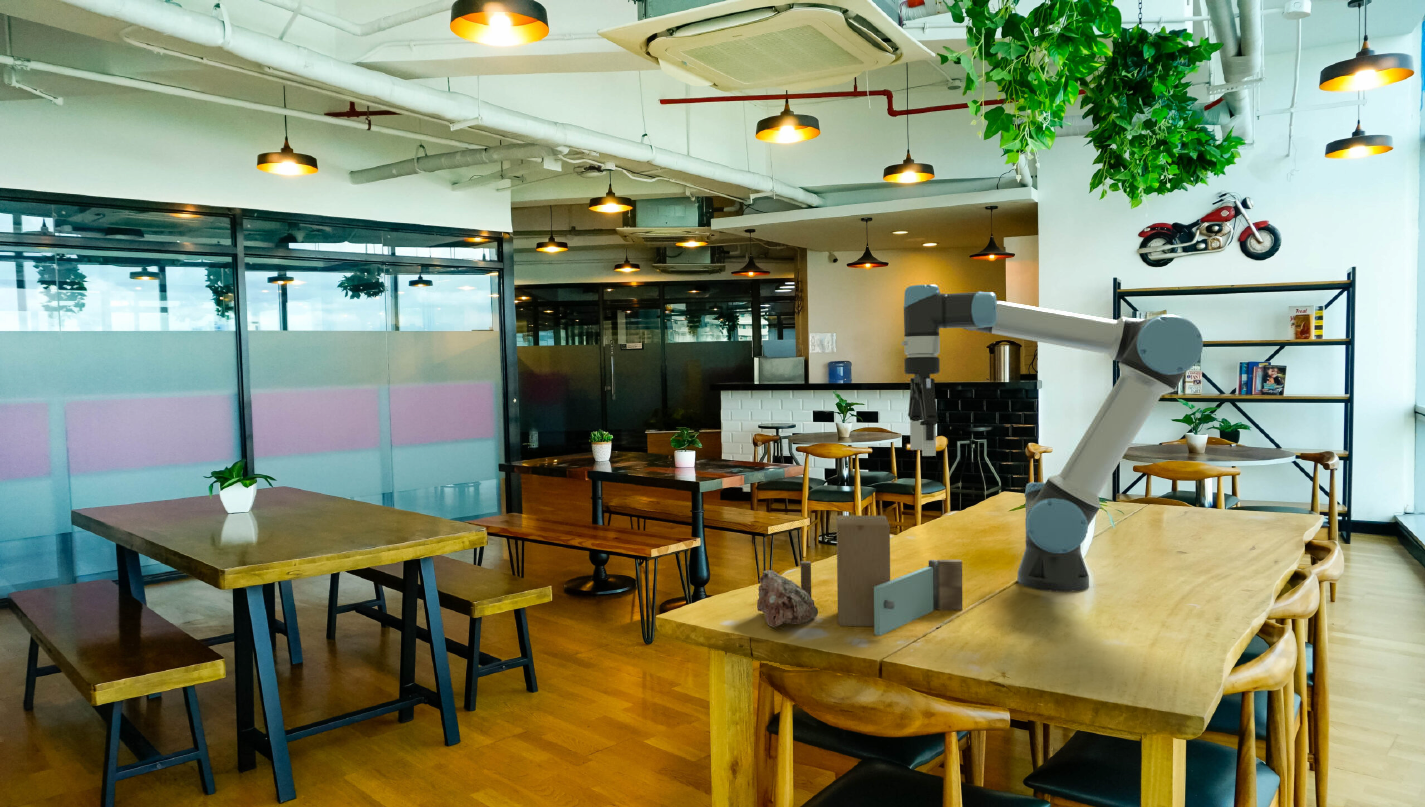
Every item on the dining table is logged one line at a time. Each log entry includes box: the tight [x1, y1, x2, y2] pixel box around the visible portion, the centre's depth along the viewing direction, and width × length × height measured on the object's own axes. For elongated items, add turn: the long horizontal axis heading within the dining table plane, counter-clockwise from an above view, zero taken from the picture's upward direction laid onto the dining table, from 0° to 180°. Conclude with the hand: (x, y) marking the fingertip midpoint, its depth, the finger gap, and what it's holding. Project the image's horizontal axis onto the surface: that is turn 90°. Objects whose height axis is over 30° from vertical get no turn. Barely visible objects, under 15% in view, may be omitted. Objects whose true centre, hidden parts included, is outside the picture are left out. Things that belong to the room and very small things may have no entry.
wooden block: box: [836, 515, 891, 628], centre depth 177 cm, size 10×10×20 cm
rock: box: [756, 570, 819, 629], centre depth 177 cm, size 16×11×15 cm
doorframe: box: [800, 559, 963, 611], centre depth 184 cm, size 33×2×10 cm, turn 88°
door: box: [873, 565, 934, 636], centre depth 174 cm, size 21×3×9 cm, turn 139°
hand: (922, 452), depth 197 cm, fingers open, 13 cm apart
